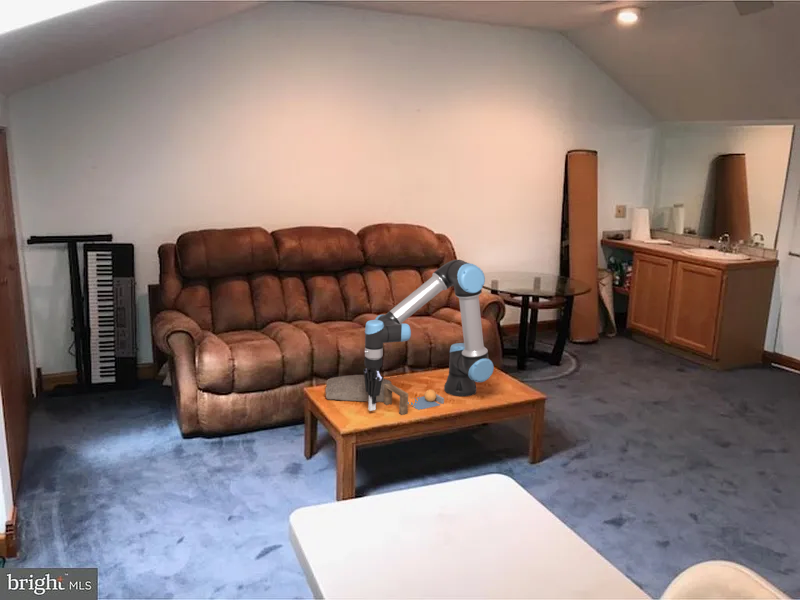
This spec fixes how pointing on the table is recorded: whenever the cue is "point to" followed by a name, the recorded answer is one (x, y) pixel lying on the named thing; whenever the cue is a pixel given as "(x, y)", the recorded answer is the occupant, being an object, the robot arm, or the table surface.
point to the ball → (430, 395)
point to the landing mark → (423, 403)
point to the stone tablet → (351, 388)
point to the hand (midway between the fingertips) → (372, 409)
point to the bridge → (403, 395)
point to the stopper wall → (439, 399)
